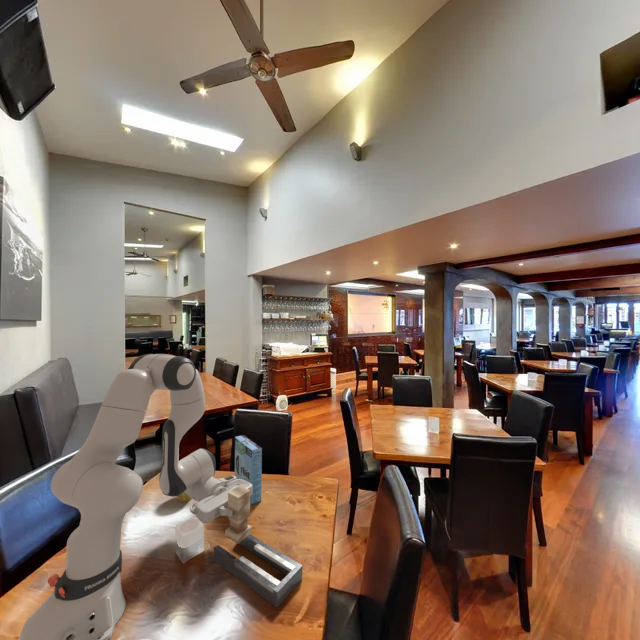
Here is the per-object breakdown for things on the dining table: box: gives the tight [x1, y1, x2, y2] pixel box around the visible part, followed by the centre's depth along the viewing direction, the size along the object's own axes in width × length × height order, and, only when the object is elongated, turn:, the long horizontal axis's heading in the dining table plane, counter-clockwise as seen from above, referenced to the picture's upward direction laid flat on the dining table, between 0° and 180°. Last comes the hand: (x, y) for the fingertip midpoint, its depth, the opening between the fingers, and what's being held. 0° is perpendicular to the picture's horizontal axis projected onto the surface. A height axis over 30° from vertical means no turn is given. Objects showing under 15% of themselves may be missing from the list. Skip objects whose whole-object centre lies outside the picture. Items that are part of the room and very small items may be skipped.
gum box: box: [234, 434, 263, 506], centre depth 133 cm, size 20×5×23 cm, turn 37°
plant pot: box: [176, 492, 193, 502], centre depth 128 cm, size 10×10×10 cm
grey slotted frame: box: [213, 533, 303, 608], centre depth 91 cm, size 11×28×4 cm, turn 56°
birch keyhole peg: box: [224, 486, 253, 545], centre depth 96 cm, size 6×6×14 cm
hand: (240, 508), depth 96 cm, fingers closed on birch keyhole peg, 5 cm apart
